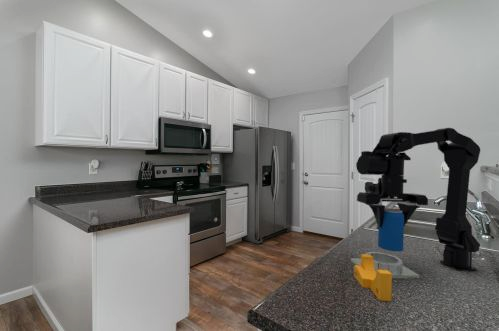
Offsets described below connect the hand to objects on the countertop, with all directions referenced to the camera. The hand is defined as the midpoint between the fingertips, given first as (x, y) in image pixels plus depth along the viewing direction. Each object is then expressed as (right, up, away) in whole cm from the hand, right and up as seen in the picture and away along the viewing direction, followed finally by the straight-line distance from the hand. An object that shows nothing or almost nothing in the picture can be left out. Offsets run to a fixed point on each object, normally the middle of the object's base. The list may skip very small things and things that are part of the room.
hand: (390, 227), depth 72 cm
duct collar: (-2, -13, +2) cm, 13 cm away
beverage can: (0, -7, 0) cm, 7 cm away
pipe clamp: (-11, -13, -10) cm, 20 cm away
